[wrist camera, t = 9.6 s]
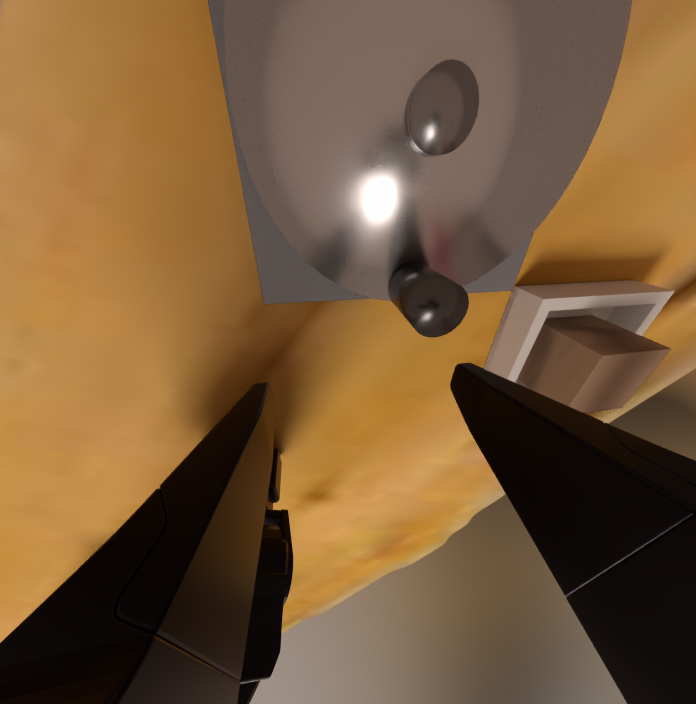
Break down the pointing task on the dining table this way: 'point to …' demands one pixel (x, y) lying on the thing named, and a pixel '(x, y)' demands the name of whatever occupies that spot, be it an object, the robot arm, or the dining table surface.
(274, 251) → the crank board
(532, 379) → the block
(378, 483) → the dining table surface
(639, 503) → the robot arm
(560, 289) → the tray
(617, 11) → the crank
